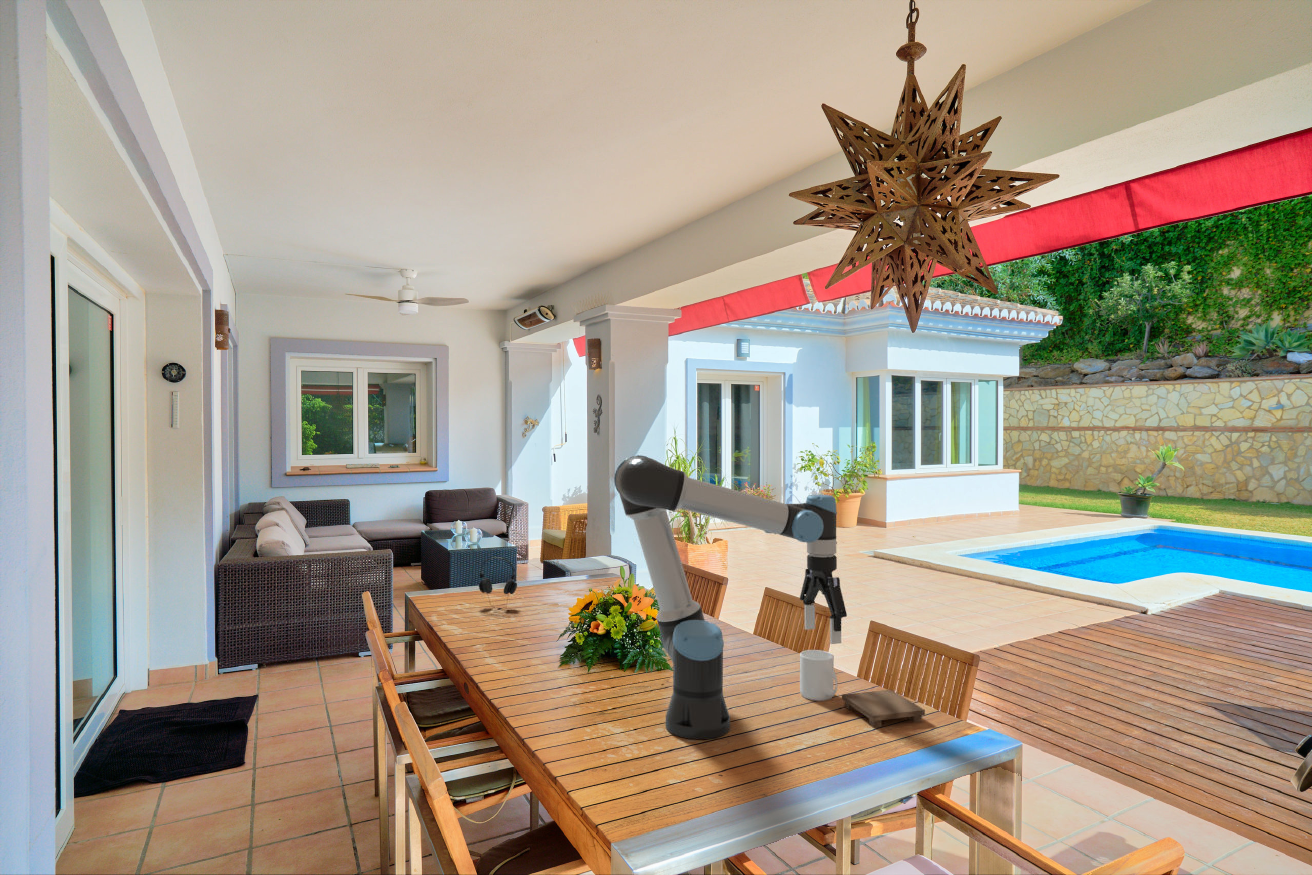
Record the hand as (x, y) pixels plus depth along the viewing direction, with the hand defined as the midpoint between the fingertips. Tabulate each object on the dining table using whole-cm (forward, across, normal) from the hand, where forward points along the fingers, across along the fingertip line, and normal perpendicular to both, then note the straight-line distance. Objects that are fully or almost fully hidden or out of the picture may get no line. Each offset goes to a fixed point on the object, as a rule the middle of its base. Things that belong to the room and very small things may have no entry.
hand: (822, 635), depth 186 cm
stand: (+16, -14, -8) cm, 23 cm away
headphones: (+15, +116, +78) cm, 140 cm away
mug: (+16, 0, 0) cm, 16 cm away
